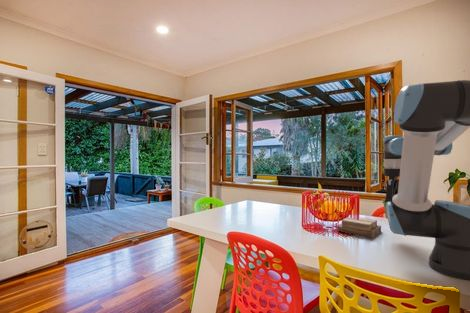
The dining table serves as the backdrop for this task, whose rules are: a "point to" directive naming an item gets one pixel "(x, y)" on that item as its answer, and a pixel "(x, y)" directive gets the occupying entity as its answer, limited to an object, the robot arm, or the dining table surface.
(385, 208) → the plant pot
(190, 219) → the dining table surface
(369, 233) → the plinth
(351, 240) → the dining table surface
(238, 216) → the dining table surface
